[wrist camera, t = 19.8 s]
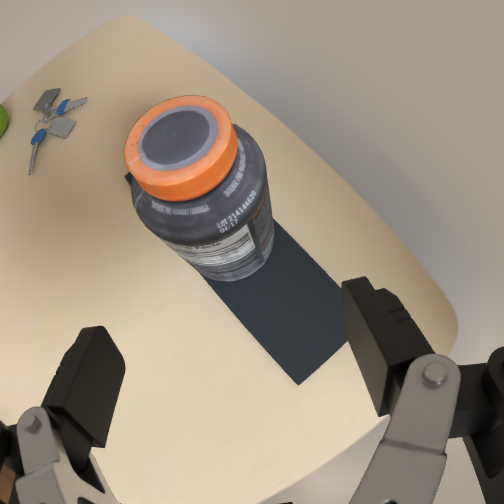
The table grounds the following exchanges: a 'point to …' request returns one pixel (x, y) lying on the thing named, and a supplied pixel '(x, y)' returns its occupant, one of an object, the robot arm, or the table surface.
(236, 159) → the pill bottle
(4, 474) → the wooden box frame
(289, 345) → the mat
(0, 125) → the snail figurine
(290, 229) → the table surface
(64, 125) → the key chain
